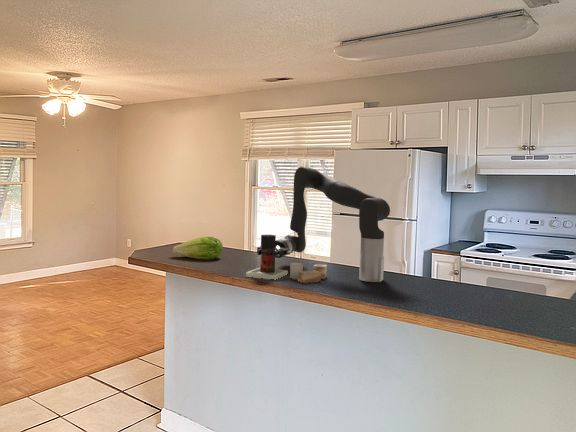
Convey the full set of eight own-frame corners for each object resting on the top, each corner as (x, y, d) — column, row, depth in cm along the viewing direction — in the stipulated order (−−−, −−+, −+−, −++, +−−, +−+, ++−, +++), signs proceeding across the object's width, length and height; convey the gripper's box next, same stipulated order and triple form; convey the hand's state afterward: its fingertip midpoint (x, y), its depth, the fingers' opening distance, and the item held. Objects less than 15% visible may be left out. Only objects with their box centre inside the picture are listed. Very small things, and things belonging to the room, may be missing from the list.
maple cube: (326, 276, 201) (326, 264, 200) (325, 279, 196) (325, 266, 196) (314, 276, 202) (314, 264, 201) (312, 278, 197) (313, 266, 196)
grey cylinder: (304, 278, 196) (304, 263, 196) (299, 280, 192) (299, 265, 191) (293, 276, 199) (293, 262, 198) (287, 278, 194) (288, 263, 194)
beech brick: (320, 282, 190) (320, 272, 190) (303, 283, 186) (304, 273, 186) (314, 280, 194) (314, 270, 193) (297, 281, 189) (298, 271, 189)
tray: (287, 274, 202) (287, 270, 202) (275, 280, 190) (275, 275, 190) (259, 271, 207) (259, 267, 207) (246, 276, 195) (246, 272, 195)
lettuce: (177, 244, 247) (171, 232, 236) (225, 243, 246) (221, 230, 235) (174, 265, 240) (168, 254, 230) (223, 264, 239) (219, 252, 229)
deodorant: (257, 271, 199) (258, 235, 197) (268, 269, 203) (268, 234, 201) (267, 273, 194) (267, 236, 193) (277, 272, 198) (278, 235, 197)
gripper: (266, 238, 213) (249, 242, 198) (296, 240, 208) (282, 245, 193) (265, 255, 214) (249, 260, 198) (296, 257, 209) (281, 264, 193)
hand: (265, 253), depth 196 cm, fingers closed on deodorant, 6 cm apart
